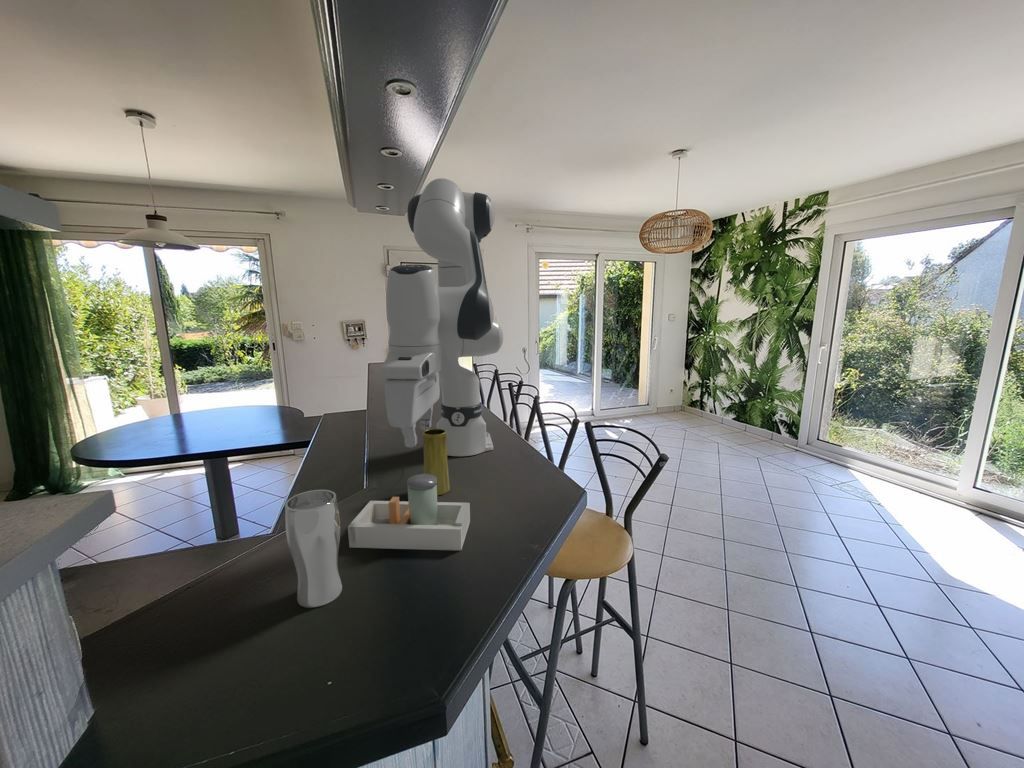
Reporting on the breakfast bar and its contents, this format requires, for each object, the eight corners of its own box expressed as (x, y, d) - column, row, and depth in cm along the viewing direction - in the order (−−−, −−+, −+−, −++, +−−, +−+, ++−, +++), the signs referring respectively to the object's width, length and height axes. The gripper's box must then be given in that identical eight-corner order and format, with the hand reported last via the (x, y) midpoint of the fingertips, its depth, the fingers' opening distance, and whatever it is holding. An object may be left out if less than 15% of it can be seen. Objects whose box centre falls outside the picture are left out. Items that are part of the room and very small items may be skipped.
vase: (444, 497, 92) (442, 436, 90) (419, 494, 93) (416, 434, 91) (453, 485, 98) (451, 428, 95) (429, 483, 99) (427, 427, 97)
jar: (414, 521, 79) (411, 473, 78) (441, 522, 79) (439, 474, 77) (405, 536, 74) (402, 485, 72) (435, 537, 74) (432, 486, 72)
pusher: (381, 517, 81) (379, 491, 80) (415, 518, 80) (414, 491, 79) (366, 536, 74) (364, 508, 73) (404, 537, 73) (402, 508, 72)
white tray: (371, 519, 82) (370, 498, 82) (470, 521, 81) (469, 500, 81) (349, 547, 73) (347, 524, 72) (461, 550, 71) (460, 526, 71)
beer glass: (309, 578, 64) (300, 488, 62) (353, 578, 64) (345, 489, 61) (283, 610, 57) (272, 510, 55) (332, 611, 57) (323, 511, 55)
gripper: (415, 353, 81) (418, 420, 84) (375, 369, 61) (381, 457, 64) (446, 353, 81) (448, 420, 84) (417, 370, 61) (421, 457, 64)
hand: (419, 436), depth 74 cm, fingers open, 8 cm apart
